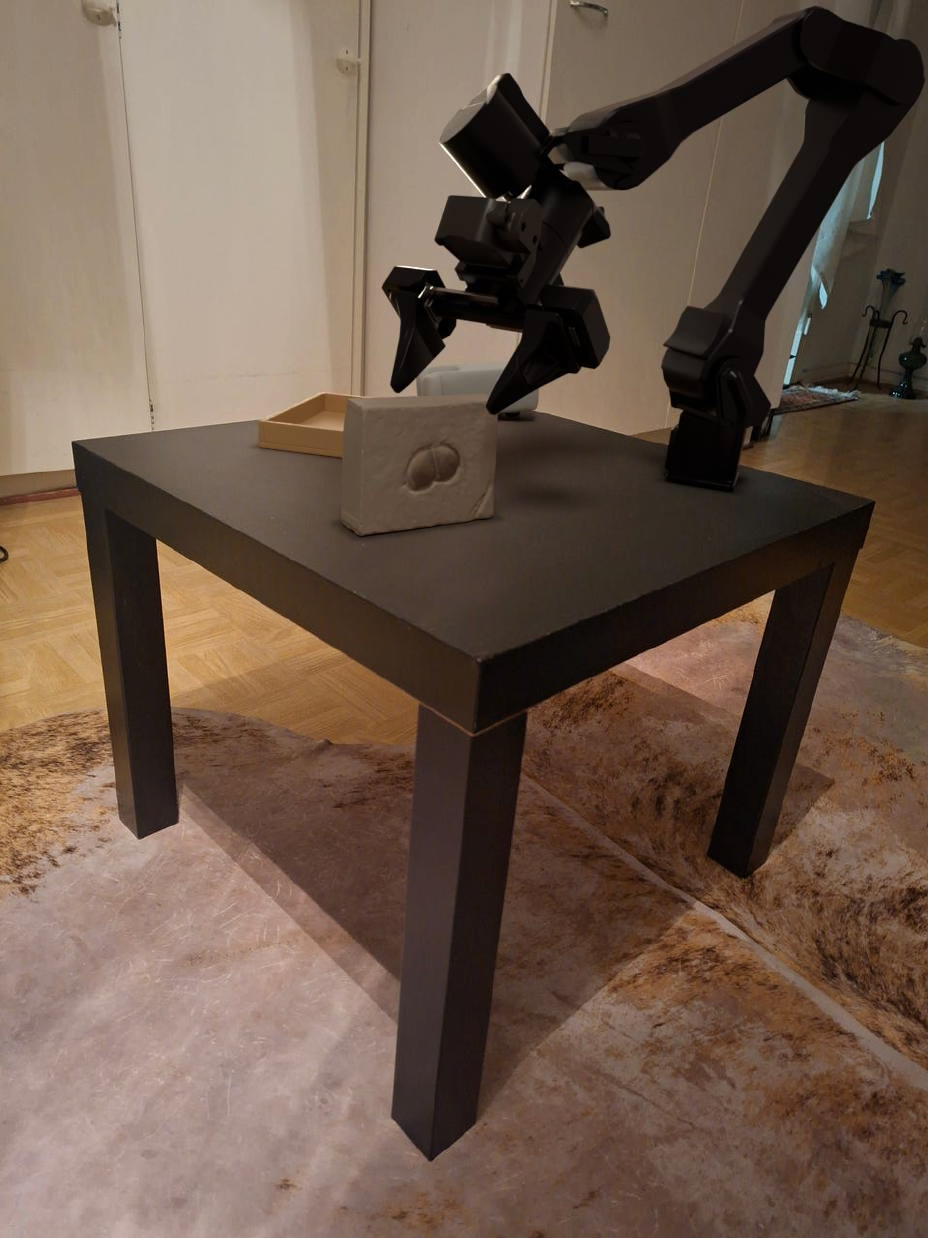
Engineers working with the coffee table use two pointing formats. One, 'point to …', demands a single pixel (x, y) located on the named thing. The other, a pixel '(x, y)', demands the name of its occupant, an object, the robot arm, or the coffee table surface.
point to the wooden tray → (308, 426)
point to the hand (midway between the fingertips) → (439, 399)
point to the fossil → (417, 462)
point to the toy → (470, 383)
